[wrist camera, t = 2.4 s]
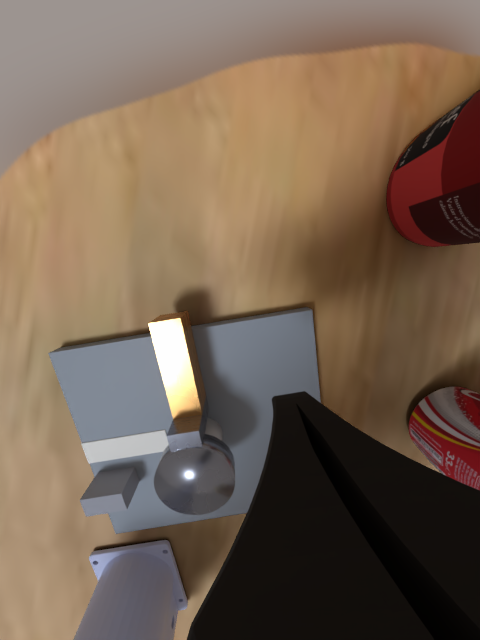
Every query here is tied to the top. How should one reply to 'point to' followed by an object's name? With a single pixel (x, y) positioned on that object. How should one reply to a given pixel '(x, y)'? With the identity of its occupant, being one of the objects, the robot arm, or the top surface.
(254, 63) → the top surface
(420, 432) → the soda can
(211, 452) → the lever handle
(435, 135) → the canned food
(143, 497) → the base
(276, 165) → the top surface
